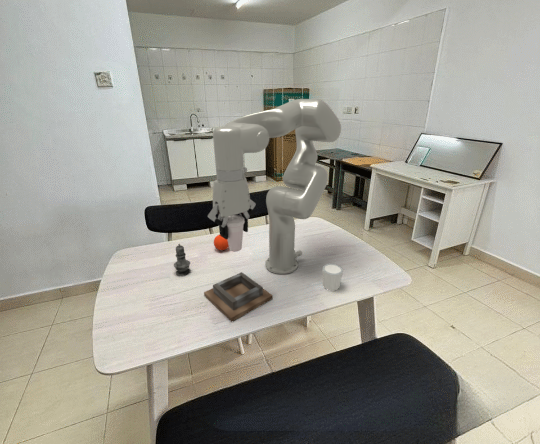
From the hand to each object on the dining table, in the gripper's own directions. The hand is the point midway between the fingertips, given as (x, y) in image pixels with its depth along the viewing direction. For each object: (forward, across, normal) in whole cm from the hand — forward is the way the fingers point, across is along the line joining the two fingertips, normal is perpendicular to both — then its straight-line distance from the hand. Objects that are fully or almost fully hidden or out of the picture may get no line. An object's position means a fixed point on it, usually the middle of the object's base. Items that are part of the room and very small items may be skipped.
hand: (234, 233), depth 85 cm
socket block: (+23, 0, 0) cm, 23 cm away
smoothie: (+5, 0, 0) cm, 5 cm away
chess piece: (+23, +8, -26) cm, 36 cm away
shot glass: (+24, -28, +16) cm, 40 cm away
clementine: (+24, -14, -31) cm, 41 cm away
